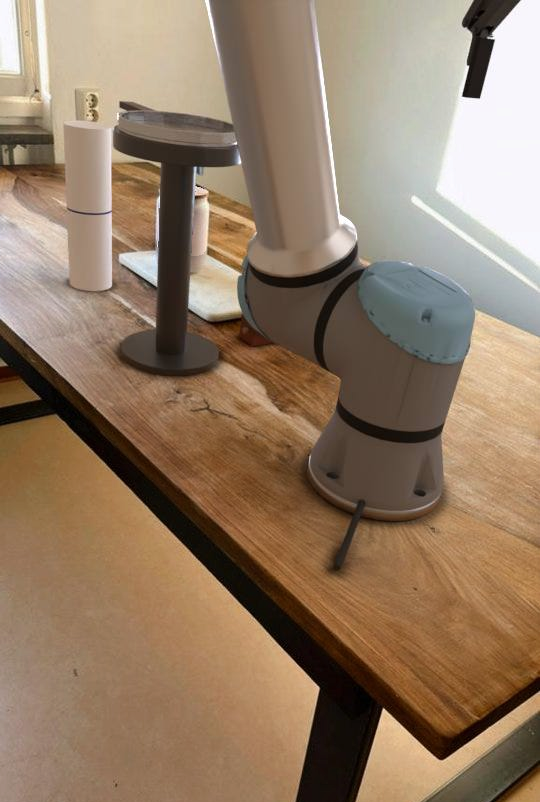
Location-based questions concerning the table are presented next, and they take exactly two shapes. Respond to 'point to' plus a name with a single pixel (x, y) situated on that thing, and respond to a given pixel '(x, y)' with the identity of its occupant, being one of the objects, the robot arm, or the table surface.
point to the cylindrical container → (88, 204)
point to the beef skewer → (251, 334)
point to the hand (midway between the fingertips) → (512, 107)
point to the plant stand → (173, 228)
